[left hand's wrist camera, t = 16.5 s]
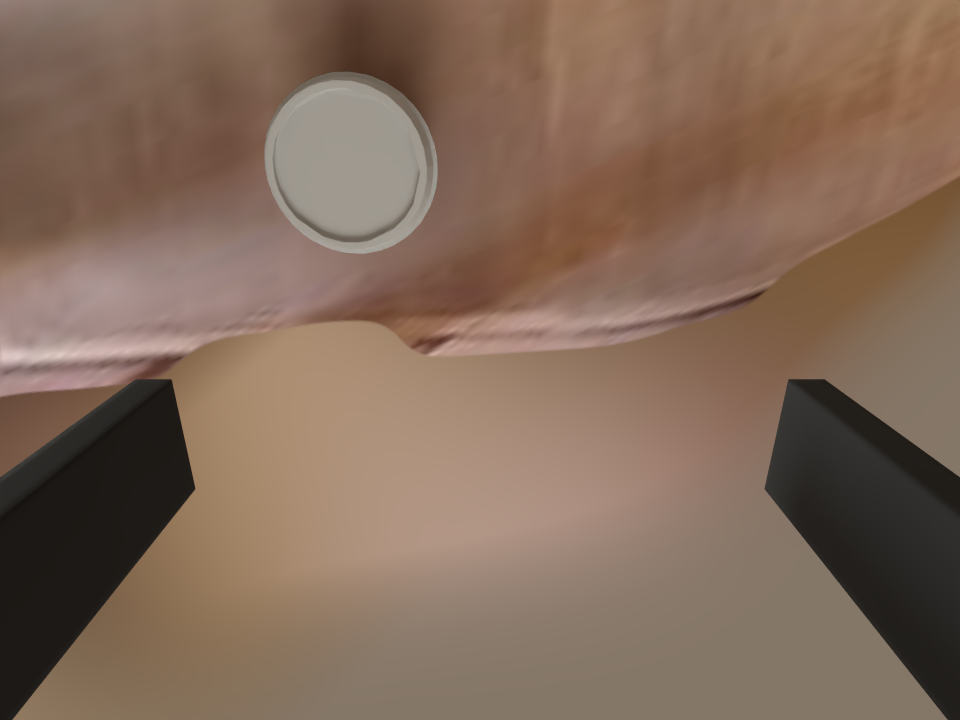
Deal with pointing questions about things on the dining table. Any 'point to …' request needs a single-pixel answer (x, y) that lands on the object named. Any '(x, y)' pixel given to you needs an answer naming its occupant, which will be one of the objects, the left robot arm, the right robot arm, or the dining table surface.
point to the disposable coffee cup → (351, 162)
